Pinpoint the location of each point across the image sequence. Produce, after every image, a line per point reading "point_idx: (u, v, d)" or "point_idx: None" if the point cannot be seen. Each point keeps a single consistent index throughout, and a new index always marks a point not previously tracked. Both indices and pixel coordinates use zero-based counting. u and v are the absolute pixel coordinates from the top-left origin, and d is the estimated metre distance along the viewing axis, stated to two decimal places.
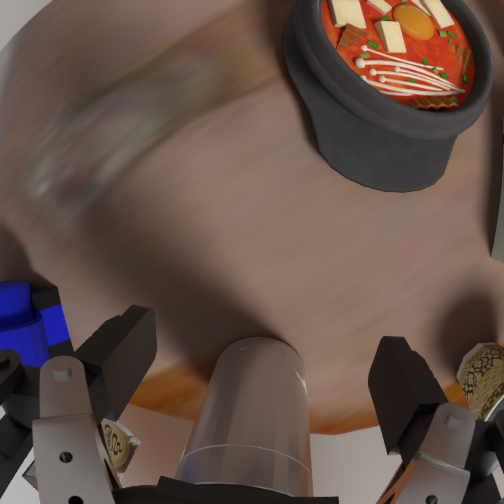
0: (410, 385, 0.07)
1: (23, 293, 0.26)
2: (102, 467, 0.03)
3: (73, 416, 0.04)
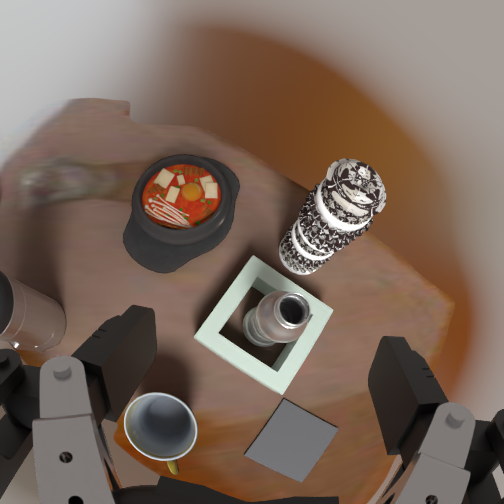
0: (409, 385, 0.07)
1: None
2: (102, 467, 0.03)
3: (73, 416, 0.04)
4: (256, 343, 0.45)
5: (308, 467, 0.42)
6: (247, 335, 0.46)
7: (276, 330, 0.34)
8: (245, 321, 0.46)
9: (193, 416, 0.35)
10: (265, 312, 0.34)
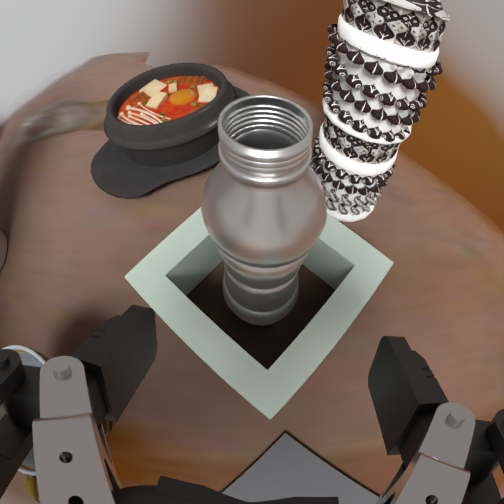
0: (410, 385, 0.07)
1: None
2: (102, 467, 0.03)
3: (73, 416, 0.04)
4: (239, 311, 0.24)
5: None
6: (225, 295, 0.25)
7: (229, 208, 0.13)
8: None
9: None
10: (213, 172, 0.14)
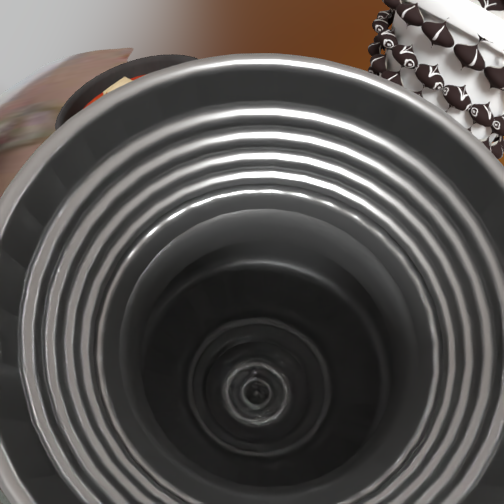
0: None
1: None
2: None
3: None
4: None
5: None
6: None
7: None
8: None
9: None
10: None
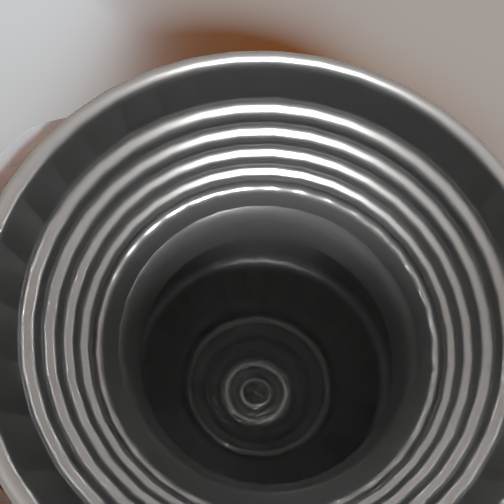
0: None
1: None
2: None
3: None
4: None
5: None
6: None
7: None
8: None
9: None
10: None
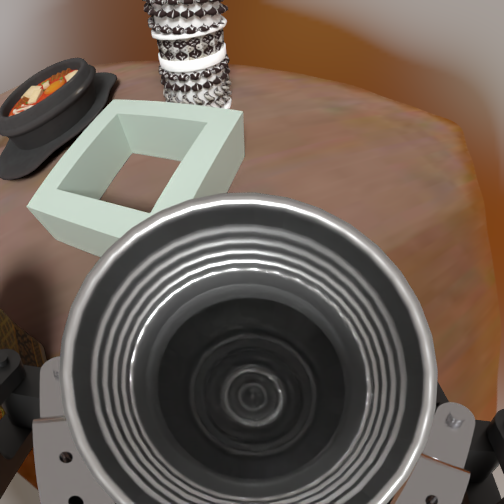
0: None
1: None
2: None
3: None
4: None
5: None
6: None
7: None
8: None
9: None
10: None
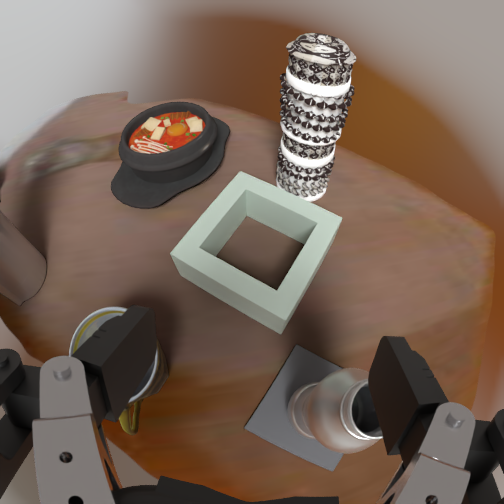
0: (410, 385, 0.07)
1: None
2: (102, 467, 0.03)
3: (73, 416, 0.04)
4: (297, 430, 0.27)
5: None
6: (290, 415, 0.28)
7: (332, 431, 0.16)
8: (295, 396, 0.29)
9: None
10: (326, 397, 0.18)
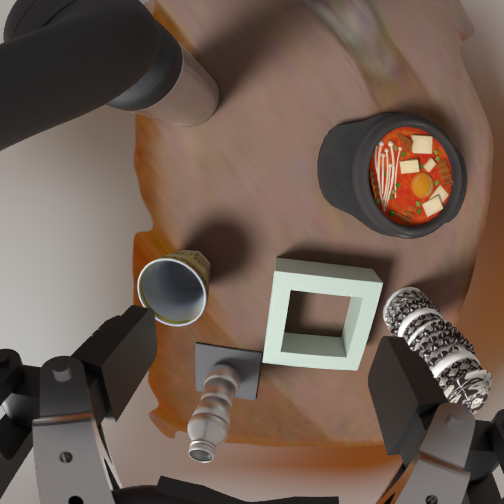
0: (410, 385, 0.07)
1: None
2: (102, 467, 0.03)
3: (73, 416, 0.04)
4: (205, 379, 0.50)
5: None
6: (211, 373, 0.50)
7: (191, 432, 0.38)
8: (222, 374, 0.49)
9: (199, 316, 0.40)
10: (204, 428, 0.37)
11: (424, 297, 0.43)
